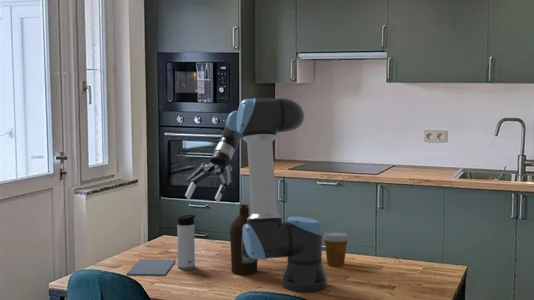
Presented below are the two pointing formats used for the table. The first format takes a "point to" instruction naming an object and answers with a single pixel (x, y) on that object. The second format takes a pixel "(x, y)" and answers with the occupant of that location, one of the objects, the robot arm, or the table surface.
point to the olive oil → (241, 245)
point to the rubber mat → (151, 267)
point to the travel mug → (186, 242)
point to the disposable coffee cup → (335, 248)
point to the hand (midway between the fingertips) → (201, 198)
